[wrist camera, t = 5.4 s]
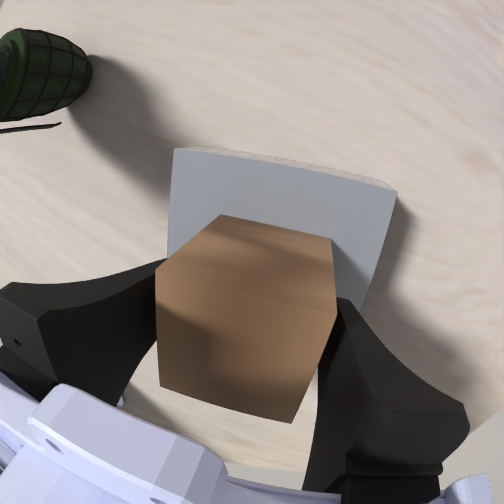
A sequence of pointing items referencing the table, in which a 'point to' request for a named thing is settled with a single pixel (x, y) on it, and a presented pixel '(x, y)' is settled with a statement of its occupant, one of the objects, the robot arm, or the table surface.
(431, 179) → the table surface
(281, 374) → the walnut block
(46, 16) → the table surface
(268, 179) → the gray block
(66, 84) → the grenade
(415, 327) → the table surface
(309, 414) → the table surface
